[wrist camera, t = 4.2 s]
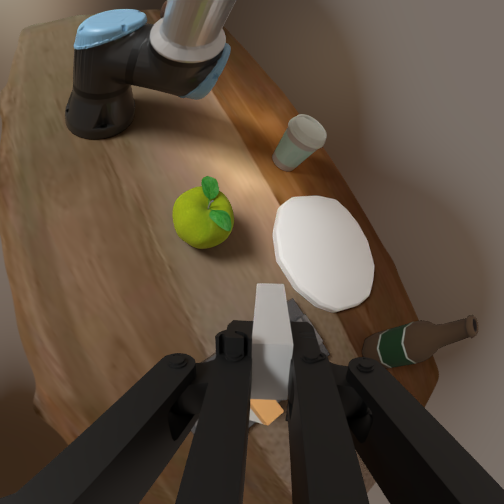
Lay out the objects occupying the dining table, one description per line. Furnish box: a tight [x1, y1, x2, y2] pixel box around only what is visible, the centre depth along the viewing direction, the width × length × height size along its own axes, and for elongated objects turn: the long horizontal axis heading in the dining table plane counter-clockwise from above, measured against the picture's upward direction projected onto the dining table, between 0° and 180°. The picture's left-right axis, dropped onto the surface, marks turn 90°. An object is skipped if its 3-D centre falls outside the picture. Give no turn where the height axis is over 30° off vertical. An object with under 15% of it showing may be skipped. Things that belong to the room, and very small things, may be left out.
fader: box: [249, 399, 284, 425], centre depth 32 cm, size 4×4×12 cm
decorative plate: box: [273, 196, 374, 313], centre depth 57 cm, size 25×4×25 cm
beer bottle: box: [362, 315, 478, 369], centre depth 44 cm, size 8×8×24 cm
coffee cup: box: [272, 114, 327, 171], centre depth 59 cm, size 8×8×12 cm
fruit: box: [173, 176, 234, 249], centre depth 44 cm, size 9×9×10 cm
